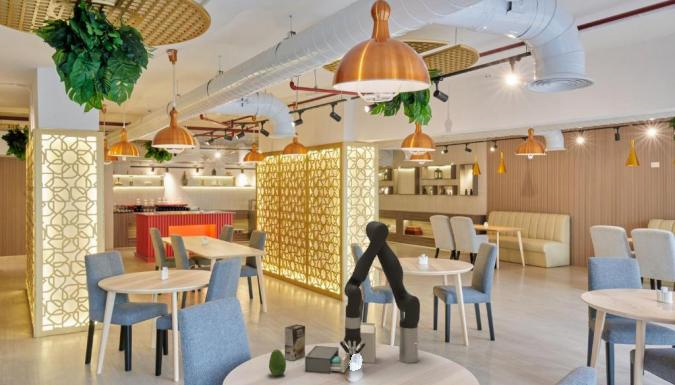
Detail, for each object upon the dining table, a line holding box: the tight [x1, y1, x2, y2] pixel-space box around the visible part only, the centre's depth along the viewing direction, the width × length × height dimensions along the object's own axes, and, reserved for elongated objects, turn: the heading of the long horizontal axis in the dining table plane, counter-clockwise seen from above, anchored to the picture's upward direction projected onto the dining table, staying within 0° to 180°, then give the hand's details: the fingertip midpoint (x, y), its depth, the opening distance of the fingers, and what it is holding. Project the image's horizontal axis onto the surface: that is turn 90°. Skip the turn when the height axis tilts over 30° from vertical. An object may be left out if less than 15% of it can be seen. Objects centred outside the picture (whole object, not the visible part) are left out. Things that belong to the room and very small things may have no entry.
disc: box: [330, 356, 342, 365], centre depth 258 cm, size 6×6×2 cm
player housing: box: [304, 345, 340, 375], centre depth 259 cm, size 12×18×7 cm, turn 166°
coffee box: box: [284, 324, 306, 362], centre depth 272 cm, size 9×6×16 cm
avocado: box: [268, 349, 287, 377], centre depth 247 cm, size 8×8×12 cm
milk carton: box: [359, 322, 377, 364], centre depth 268 cm, size 7×7×19 cm
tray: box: [330, 352, 351, 373], centre depth 258 cm, size 12×17×6 cm
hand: (352, 361), depth 256 cm, fingers closed
